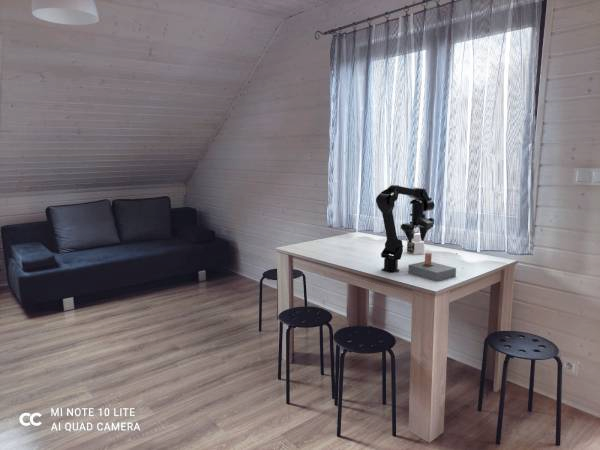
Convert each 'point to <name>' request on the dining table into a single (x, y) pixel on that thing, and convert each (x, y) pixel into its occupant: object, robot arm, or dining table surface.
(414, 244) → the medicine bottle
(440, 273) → the hole block
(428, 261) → the terracotta peg
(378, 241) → the dining table surface
